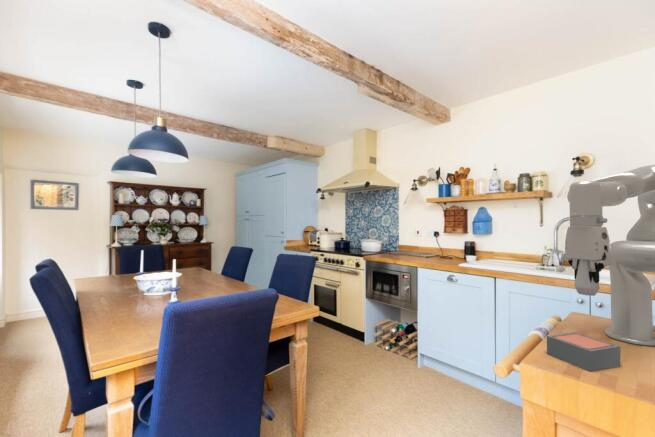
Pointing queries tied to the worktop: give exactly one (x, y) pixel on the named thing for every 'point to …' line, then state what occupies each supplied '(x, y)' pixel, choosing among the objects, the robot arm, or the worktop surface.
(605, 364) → the press housing
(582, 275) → the grey bowling pin
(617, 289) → the robot arm
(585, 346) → the pan
